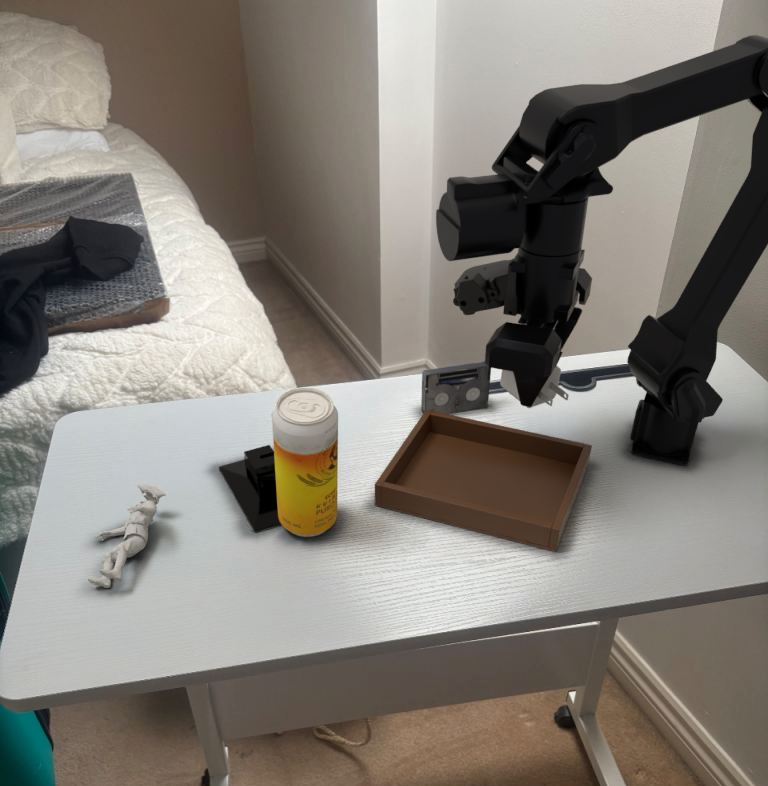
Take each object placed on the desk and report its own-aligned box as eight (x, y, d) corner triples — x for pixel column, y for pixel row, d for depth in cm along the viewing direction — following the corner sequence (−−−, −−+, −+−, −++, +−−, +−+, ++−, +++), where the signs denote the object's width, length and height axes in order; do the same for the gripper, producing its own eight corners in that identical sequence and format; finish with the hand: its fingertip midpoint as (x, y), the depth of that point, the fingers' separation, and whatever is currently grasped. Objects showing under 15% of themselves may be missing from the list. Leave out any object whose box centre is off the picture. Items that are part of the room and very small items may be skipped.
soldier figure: (72, 591, 80) (102, 488, 87) (118, 608, 83) (144, 507, 89) (109, 566, 75) (138, 458, 82) (157, 584, 78) (181, 479, 84)
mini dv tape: (483, 401, 104) (486, 359, 101) (487, 407, 103) (491, 365, 99) (421, 411, 103) (422, 368, 99) (424, 417, 102) (426, 374, 98)
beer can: (328, 545, 84) (328, 431, 73) (270, 534, 84) (262, 420, 74) (343, 504, 88) (345, 390, 77) (287, 494, 89) (282, 380, 78)
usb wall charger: (529, 378, 89) (534, 345, 86) (572, 411, 84) (579, 378, 82) (499, 388, 87) (504, 355, 84) (541, 423, 83) (547, 389, 80)
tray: (588, 465, 94) (592, 444, 92) (555, 552, 83) (559, 530, 81) (425, 429, 100) (426, 409, 98) (374, 505, 88) (374, 484, 87)
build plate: (318, 514, 88) (315, 479, 85) (252, 535, 85) (247, 500, 82) (276, 452, 96) (273, 419, 93) (216, 469, 94) (210, 435, 91)
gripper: (493, 201, 85) (484, 338, 95) (433, 272, 72) (429, 423, 82) (602, 214, 82) (581, 355, 92) (560, 291, 69) (540, 446, 78)
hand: (533, 391), depth 86 cm, fingers closed on usb wall charger, 5 cm apart
